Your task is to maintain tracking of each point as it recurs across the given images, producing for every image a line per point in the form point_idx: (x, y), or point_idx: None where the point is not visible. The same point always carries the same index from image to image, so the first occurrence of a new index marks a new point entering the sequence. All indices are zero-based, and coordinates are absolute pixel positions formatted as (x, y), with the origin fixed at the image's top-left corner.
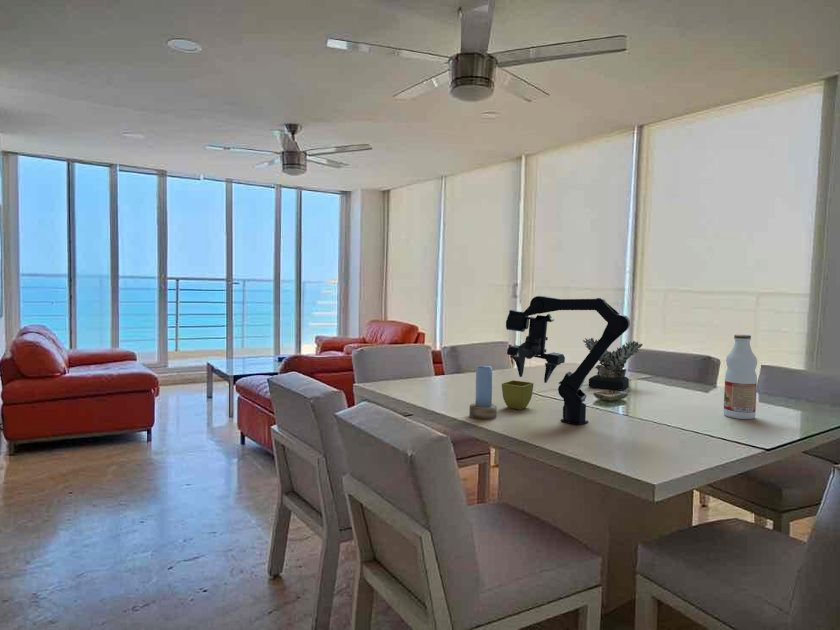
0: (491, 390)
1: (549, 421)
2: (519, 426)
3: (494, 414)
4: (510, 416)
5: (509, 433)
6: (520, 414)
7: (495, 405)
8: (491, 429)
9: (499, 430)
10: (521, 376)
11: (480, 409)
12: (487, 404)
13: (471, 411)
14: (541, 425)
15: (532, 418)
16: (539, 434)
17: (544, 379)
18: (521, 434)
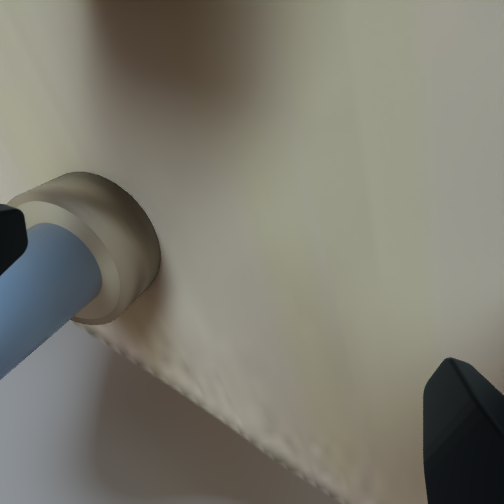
0: (24, 334)
1: (473, 227)
2: (310, 365)
3: (148, 272)
4: (207, 187)
5: (299, 452)
6: (242, 103)
7: (100, 232)
8: (223, 414)
9: (253, 423)
10: (21, 230)
11: (90, 321)
12: (86, 304)
13: None
14: (420, 330)
15: (343, 186)
16: (422, 461)
17: (428, 447)
18: (345, 461)
